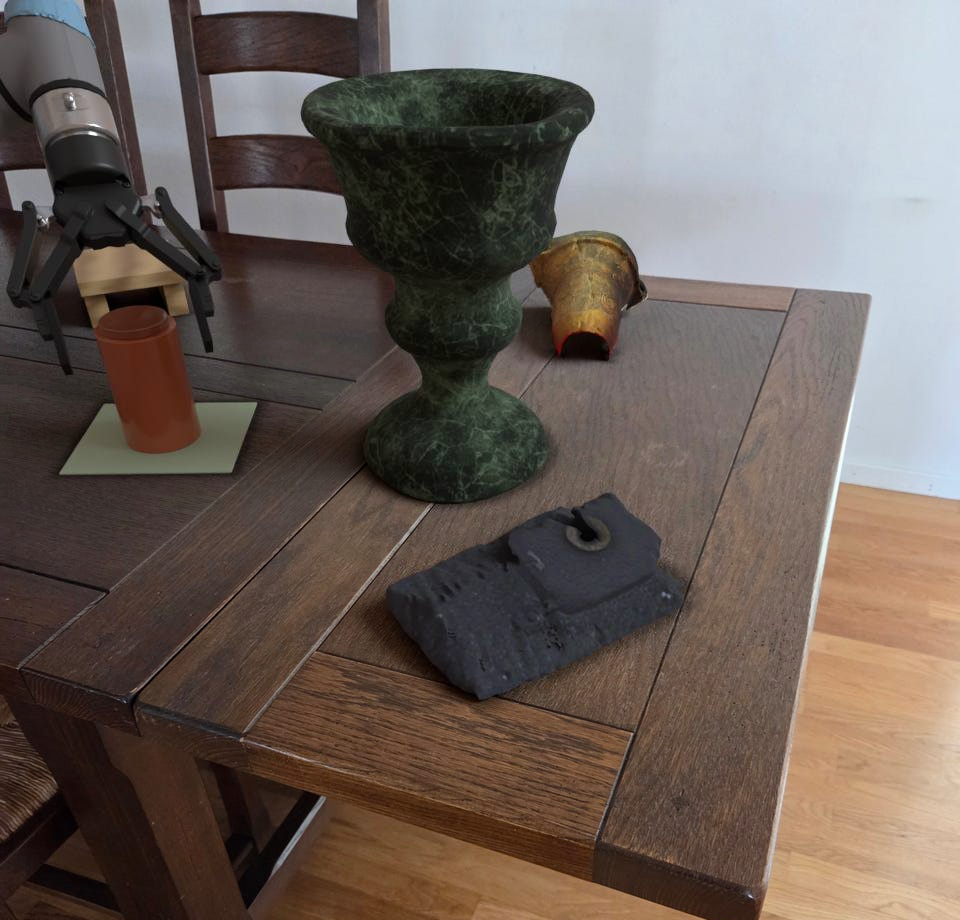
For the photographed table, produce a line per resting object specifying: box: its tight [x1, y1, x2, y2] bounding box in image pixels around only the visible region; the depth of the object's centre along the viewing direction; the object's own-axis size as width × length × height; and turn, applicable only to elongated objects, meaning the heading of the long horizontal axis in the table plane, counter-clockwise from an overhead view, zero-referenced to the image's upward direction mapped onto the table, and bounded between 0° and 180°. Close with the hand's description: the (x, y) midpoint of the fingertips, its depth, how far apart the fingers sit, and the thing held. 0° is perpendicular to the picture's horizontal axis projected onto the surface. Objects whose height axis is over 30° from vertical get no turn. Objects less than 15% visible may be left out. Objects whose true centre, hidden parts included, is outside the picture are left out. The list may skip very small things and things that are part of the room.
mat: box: [58, 401, 258, 476], centre depth 88 cm, size 16×14×1 cm
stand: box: [72, 238, 190, 329], centre depth 111 cm, size 12×12×6 cm
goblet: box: [300, 67, 596, 504], centre depth 76 cm, size 22×23×30 cm
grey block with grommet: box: [385, 492, 685, 701], centre depth 67 cm, size 15×22×5 cm
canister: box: [93, 304, 201, 454], centre depth 84 cm, size 7×7×12 cm
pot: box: [527, 229, 649, 361], centre depth 105 cm, size 17×11×18 cm
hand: (140, 358), depth 88 cm, fingers open, 13 cm apart
